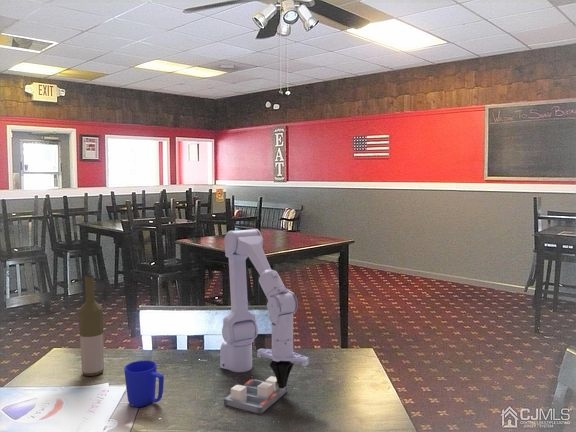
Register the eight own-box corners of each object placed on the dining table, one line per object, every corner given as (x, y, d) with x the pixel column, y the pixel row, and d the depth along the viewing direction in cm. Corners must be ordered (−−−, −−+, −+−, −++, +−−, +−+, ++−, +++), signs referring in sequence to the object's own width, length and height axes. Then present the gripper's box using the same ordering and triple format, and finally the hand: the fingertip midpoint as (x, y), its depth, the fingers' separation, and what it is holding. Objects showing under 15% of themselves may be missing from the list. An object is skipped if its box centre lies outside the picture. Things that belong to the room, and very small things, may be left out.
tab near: (230, 403, 129) (230, 388, 129) (237, 398, 132) (236, 384, 131) (240, 406, 128) (240, 391, 127) (246, 401, 130) (246, 386, 130)
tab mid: (257, 401, 130) (257, 386, 130) (263, 396, 133) (263, 382, 133) (267, 403, 129) (267, 388, 129) (272, 398, 132) (272, 384, 131)
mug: (150, 416, 124) (149, 378, 123) (118, 404, 131) (117, 368, 130) (174, 403, 131) (173, 367, 130) (142, 393, 138) (141, 358, 137)
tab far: (265, 394, 134) (265, 380, 134) (271, 390, 137) (271, 375, 137) (275, 396, 133) (275, 382, 133) (280, 392, 136) (280, 378, 135)
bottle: (84, 369, 154) (80, 274, 152) (107, 368, 155) (104, 273, 153) (77, 378, 147) (73, 279, 145) (102, 377, 148) (98, 278, 146)
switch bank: (224, 408, 129) (224, 398, 128) (252, 387, 141) (252, 378, 141) (260, 417, 124) (260, 407, 123) (286, 395, 136) (286, 385, 136)
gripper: (251, 338, 132) (251, 387, 133) (300, 346, 125) (300, 398, 127) (264, 330, 138) (264, 377, 140) (311, 338, 132) (311, 387, 133)
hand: (282, 386), depth 134 cm, fingers closed
